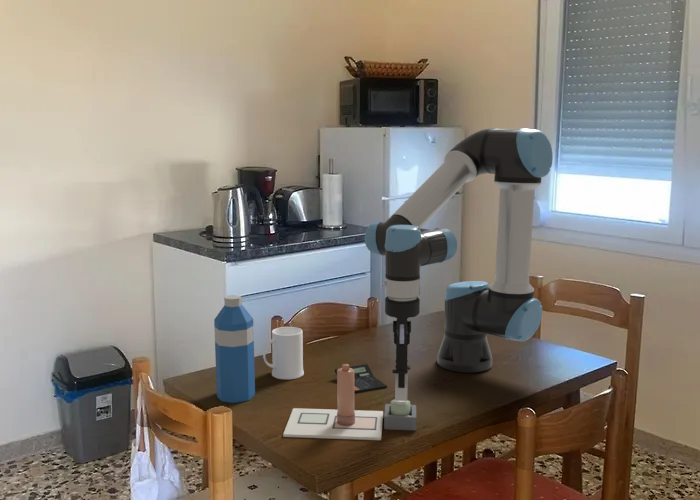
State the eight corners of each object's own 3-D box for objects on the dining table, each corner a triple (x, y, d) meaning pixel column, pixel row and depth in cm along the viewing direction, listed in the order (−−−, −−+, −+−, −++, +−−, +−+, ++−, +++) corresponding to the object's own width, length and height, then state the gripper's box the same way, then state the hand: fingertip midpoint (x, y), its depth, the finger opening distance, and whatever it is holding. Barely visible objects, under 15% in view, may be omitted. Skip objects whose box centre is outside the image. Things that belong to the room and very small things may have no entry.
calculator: (353, 394, 178) (353, 383, 177) (334, 379, 188) (334, 368, 188) (386, 388, 182) (387, 377, 181) (366, 374, 192) (366, 363, 192)
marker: (355, 418, 161) (355, 362, 159) (354, 425, 157) (354, 368, 155) (337, 418, 161) (337, 362, 159) (336, 425, 158) (336, 367, 155)
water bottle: (218, 389, 181) (215, 292, 176) (255, 387, 181) (253, 292, 177) (214, 403, 171) (211, 302, 167) (254, 402, 172) (251, 301, 168)
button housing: (415, 417, 164) (416, 404, 163) (416, 430, 157) (416, 417, 156) (385, 416, 164) (385, 403, 164) (384, 429, 157) (384, 416, 157)
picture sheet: (383, 413, 166) (383, 410, 166) (381, 440, 152) (381, 437, 152) (293, 410, 167) (293, 407, 167) (283, 436, 154) (283, 433, 153)
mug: (270, 384, 184) (269, 339, 181) (255, 374, 191) (254, 331, 188) (309, 375, 190) (309, 332, 188) (294, 366, 197) (293, 324, 195)
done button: (410, 415, 162) (410, 398, 162) (410, 423, 158) (410, 406, 157) (390, 415, 163) (390, 397, 162) (390, 423, 158) (390, 405, 158)
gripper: (385, 289, 162) (385, 387, 166) (384, 304, 149) (383, 410, 154) (419, 289, 161) (417, 388, 166) (420, 304, 149) (418, 411, 153)
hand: (401, 399), depth 160 cm, fingers closed
